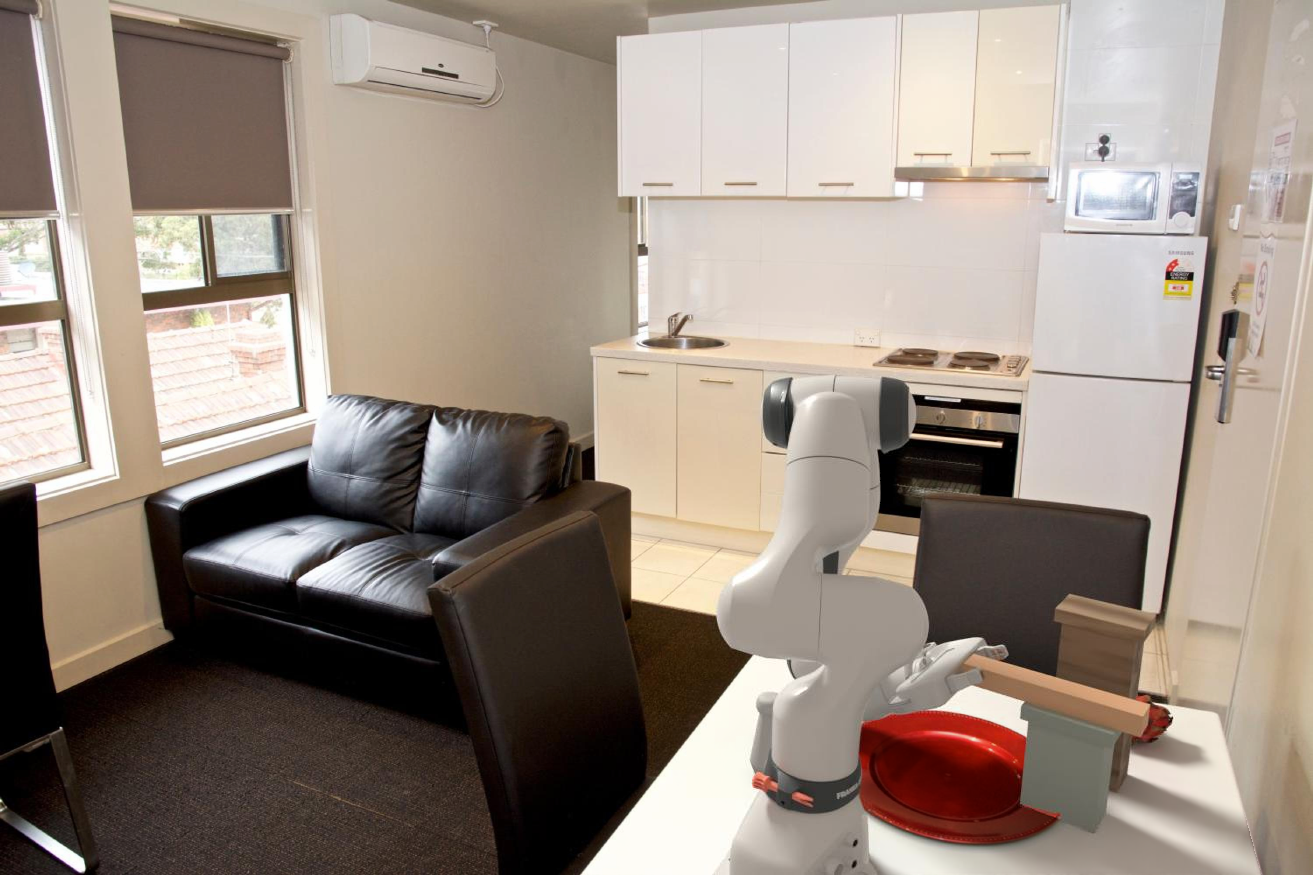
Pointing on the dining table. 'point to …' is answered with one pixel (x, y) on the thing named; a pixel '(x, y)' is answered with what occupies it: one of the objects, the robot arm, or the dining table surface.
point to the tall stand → (1104, 656)
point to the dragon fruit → (1154, 721)
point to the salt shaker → (763, 731)
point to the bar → (1061, 695)
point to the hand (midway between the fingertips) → (993, 662)
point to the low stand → (1067, 766)
